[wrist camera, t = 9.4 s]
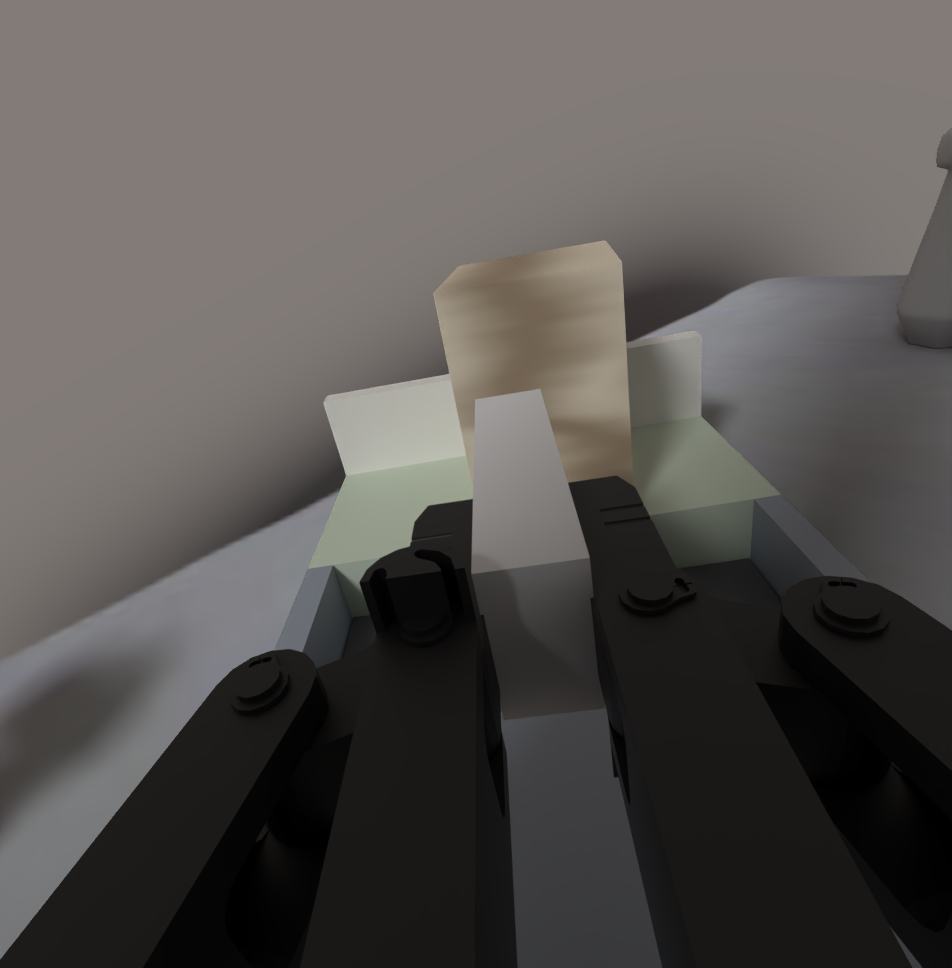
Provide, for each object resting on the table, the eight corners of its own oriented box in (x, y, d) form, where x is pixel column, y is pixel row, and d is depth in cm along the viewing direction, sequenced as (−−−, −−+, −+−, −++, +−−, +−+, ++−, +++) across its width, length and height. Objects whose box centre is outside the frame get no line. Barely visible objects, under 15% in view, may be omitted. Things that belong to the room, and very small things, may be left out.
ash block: (618, 444, 27) (605, 240, 23) (635, 510, 21) (621, 262, 17) (493, 457, 28) (459, 265, 24) (480, 524, 23) (433, 293, 18)
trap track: (1326, 1226, 8) (1760, 1005, 5) (122, 1307, 9) (-186, 1176, 6) (693, 461, 30) (694, 330, 27) (364, 514, 31) (327, 395, 28)
